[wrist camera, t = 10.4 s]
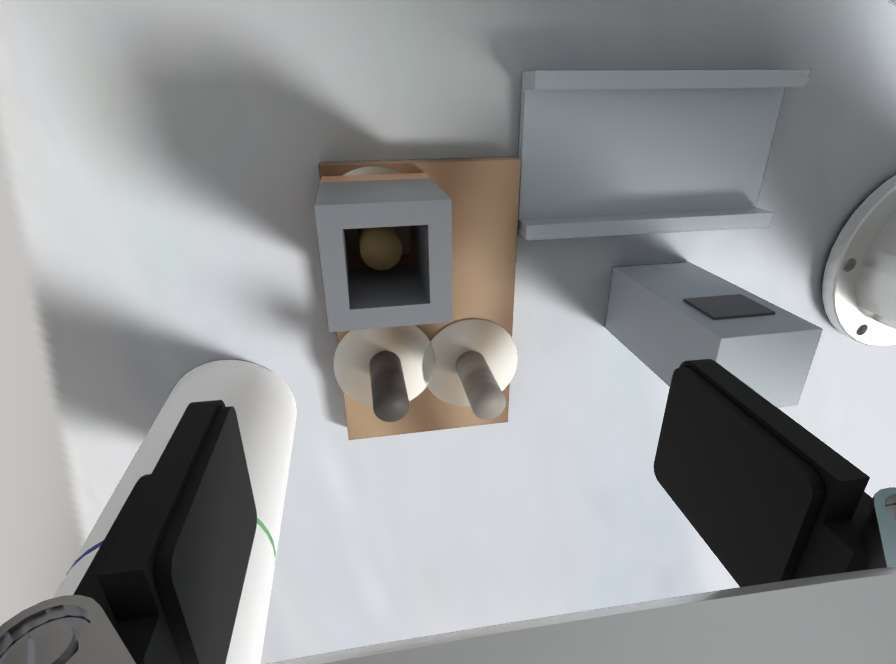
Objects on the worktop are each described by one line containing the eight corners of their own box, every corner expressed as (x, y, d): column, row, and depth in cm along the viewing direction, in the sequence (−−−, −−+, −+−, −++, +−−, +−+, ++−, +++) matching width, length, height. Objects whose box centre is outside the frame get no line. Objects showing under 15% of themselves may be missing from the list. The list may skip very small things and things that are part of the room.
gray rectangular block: (689, 259, 32) (824, 325, 23) (676, 321, 33) (797, 405, 25) (613, 264, 31) (722, 335, 22) (605, 327, 33) (702, 416, 24)
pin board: (521, 156, 27) (561, 171, 22) (508, 410, 34) (536, 466, 29) (311, 162, 26) (303, 181, 20) (342, 429, 32) (341, 492, 27)
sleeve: (425, 172, 25) (451, 199, 19) (427, 269, 28) (452, 322, 21) (321, 176, 25) (313, 205, 18) (332, 275, 27) (328, 332, 21)
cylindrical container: (140, 395, 29) (-534, 1400, 7) (252, 338, 29) (-63, 1184, 7) (218, 479, 32) (-64, 1345, 10) (319, 428, 32) (261, 1199, 10)
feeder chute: (780, 70, 28) (810, 69, 26) (745, 219, 31) (769, 226, 29) (522, 71, 26) (535, 70, 24) (514, 231, 29) (525, 240, 27)
